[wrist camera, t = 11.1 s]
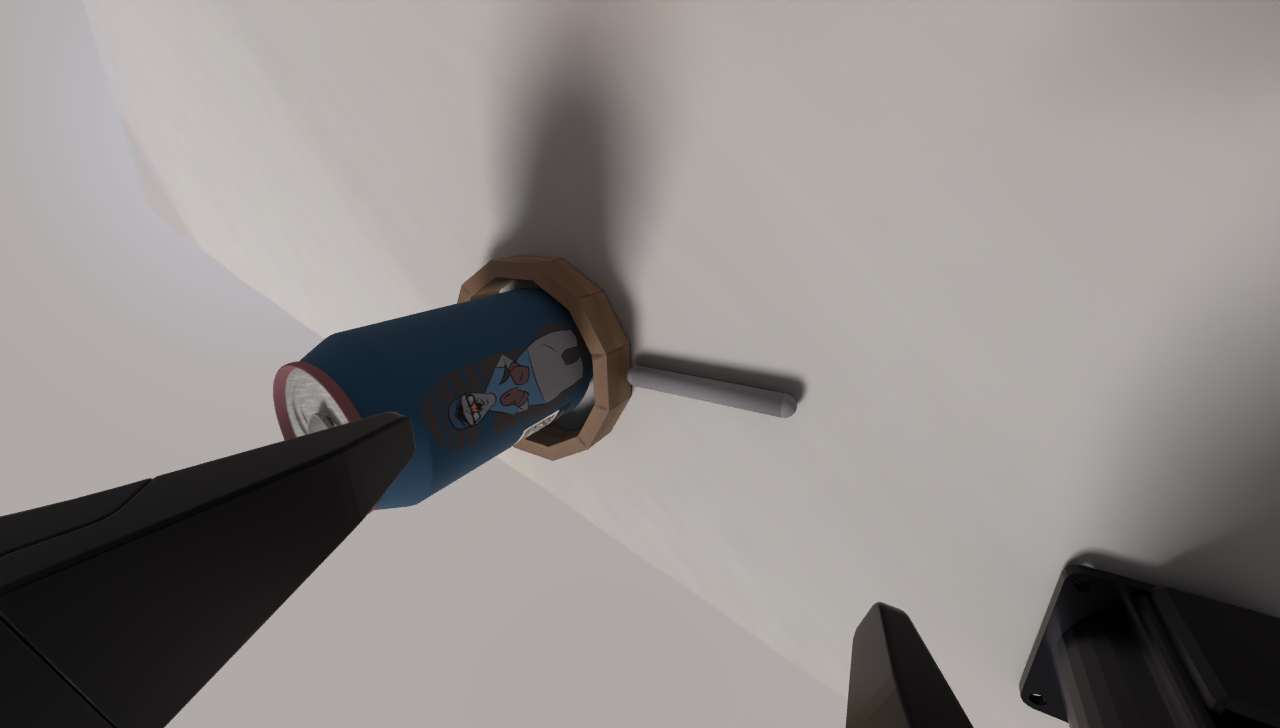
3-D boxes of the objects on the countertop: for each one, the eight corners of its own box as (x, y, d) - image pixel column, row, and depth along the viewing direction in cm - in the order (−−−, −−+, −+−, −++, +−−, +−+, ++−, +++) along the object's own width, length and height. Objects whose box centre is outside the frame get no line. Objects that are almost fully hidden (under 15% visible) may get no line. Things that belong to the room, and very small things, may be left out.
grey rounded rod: (798, 414, 19) (792, 424, 18) (634, 380, 23) (623, 387, 22) (800, 392, 19) (794, 401, 18) (633, 361, 23) (622, 367, 22)
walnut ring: (632, 461, 25) (612, 481, 23) (493, 419, 30) (468, 432, 28) (627, 262, 21) (602, 268, 20) (469, 252, 26) (439, 256, 25)
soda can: (490, 333, 28) (252, 411, 18) (546, 255, 23) (278, 302, 14) (558, 426, 27) (351, 558, 17) (629, 363, 23) (409, 490, 13)
